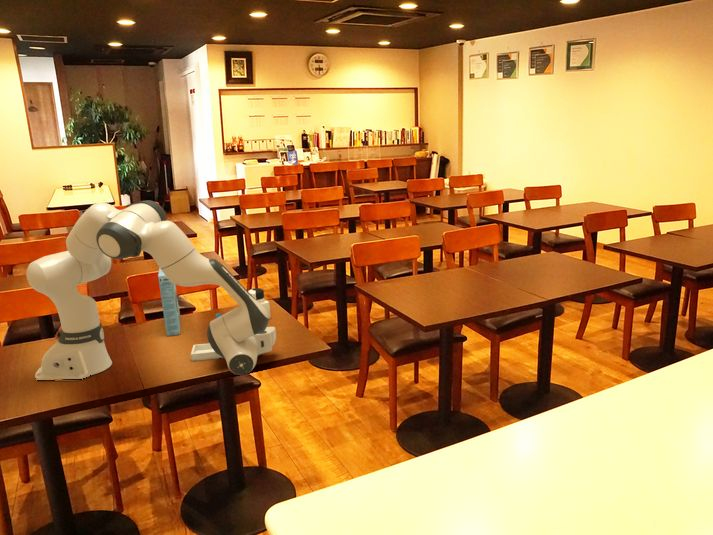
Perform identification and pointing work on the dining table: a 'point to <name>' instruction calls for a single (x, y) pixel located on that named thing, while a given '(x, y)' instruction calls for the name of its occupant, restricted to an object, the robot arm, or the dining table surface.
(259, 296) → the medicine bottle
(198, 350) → the tray
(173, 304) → the gum box
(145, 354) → the dining table surface
